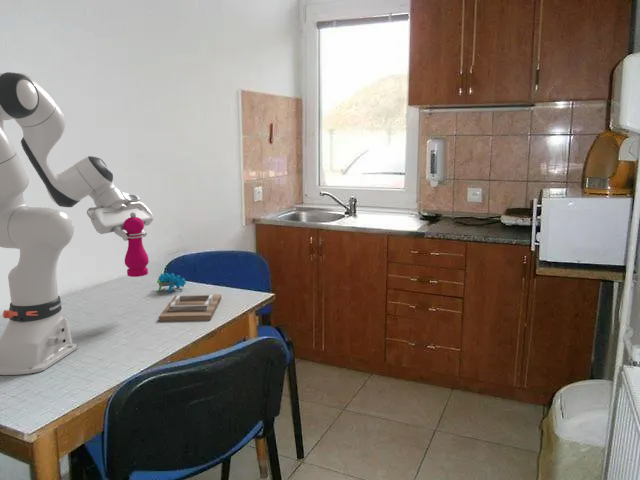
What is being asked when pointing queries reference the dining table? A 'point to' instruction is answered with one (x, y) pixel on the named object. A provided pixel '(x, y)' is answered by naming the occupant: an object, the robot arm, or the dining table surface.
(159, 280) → the toy dinosaur
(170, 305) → the walnut board
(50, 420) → the dining table surface
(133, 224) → the pepper mill
